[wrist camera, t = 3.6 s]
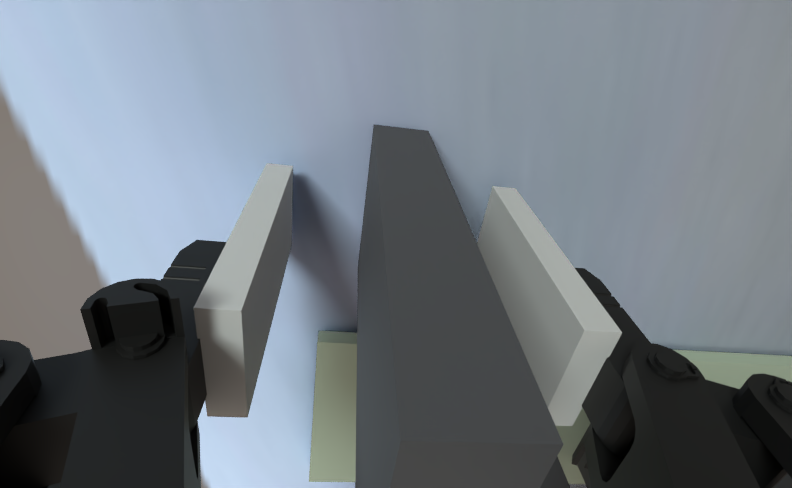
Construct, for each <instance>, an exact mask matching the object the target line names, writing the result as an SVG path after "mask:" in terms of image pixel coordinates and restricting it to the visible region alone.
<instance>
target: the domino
mask: <svg viewBox="0 0 792 488" xmlns="http://www.w3.org/2000/svg"><path fill="white" fill-rule="evenodd" d="M563 445H564V444H563V442H562V440H561V437H560V435H559V433H558V430H557V428H556V426H555V423H554V421H553V419H552V416H551V414H550V412H549V410H548V407H547V405H546V403H545V400H544V398H543V396H542V393H541V391H540V389H539V386H538V384H537V382H536V379H535V377H534V375H533V372H532V370H531V368H530V365H529V363H528V361H527V359H526V356H525V354H524V352H523V349H522V347H521V345H520V342H519V340H518V338H517V335H516V333H515V331H514V328H513V326H512V324H511V321H510V319H509V317H508V315H507V312H506V310H505V308H504V305H503V303H502V301H501V298H500V296H499V294H498V291H497V289H496V287H495V284H494V282H493V280H492V277H491V275H490V273H489V270H488V268H487V266H486V264H485V261H484V259H483V257H482V254H481V252H480V250H479V247H478V245H477V243H476V240H475V238H474V236H473V233H472V231H471V229H470V226H469V224H468V222H467V220H466V217H465V215H464V213H463V210H462V208H461V206H460V203H459V201H458V199H457V196H456V194H455V192H454V189H453V187H452V185H451V182H450V180H449V178H448V176H447V173H446V171H445V169H444V166H443V164H442V162H441V159H440V157H439V155H438V152H437V150H436V148H435V145H434V143H433V141H432V138H431V136H430V134H429V131H424V130H415V129H407V128H398V127H390V126H381V125H374V128H373V137H372V145H371V154H370V163H369V172H368V181H367V190H366V199H365V208H364V217H363V226H362V235H361V244H360V253H359V262H358V299H357V389H356V479H355V488H540V487H541V485H542V483H543V481H544V479H545V478H546V476H547V474H548V472H549V470H550V468H551V467H552V465H553V463H554V461H555V459H556V458H557V456H558V454H559V452H560V450H561V448H562V447H563Z"/></svg>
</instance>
